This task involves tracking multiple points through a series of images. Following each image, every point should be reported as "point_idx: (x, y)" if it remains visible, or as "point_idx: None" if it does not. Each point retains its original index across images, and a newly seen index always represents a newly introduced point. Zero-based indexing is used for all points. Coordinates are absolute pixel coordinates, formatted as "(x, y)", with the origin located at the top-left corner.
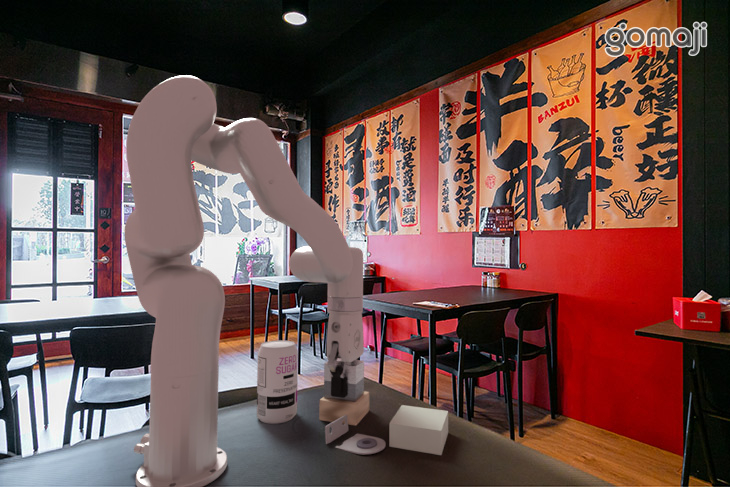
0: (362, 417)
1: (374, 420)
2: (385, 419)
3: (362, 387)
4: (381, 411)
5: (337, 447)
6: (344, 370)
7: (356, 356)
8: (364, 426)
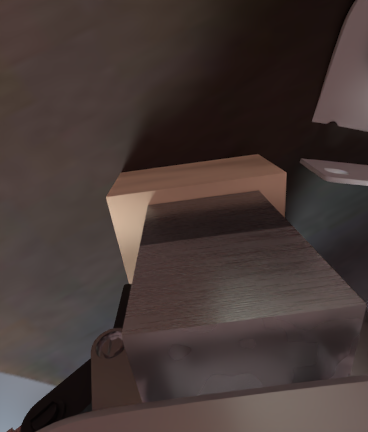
0: (193, 163)
1: (190, 114)
2: (162, 75)
3: (166, 218)
4: (99, 126)
5: None
6: (361, 340)
7: (289, 419)
8: (252, 124)
